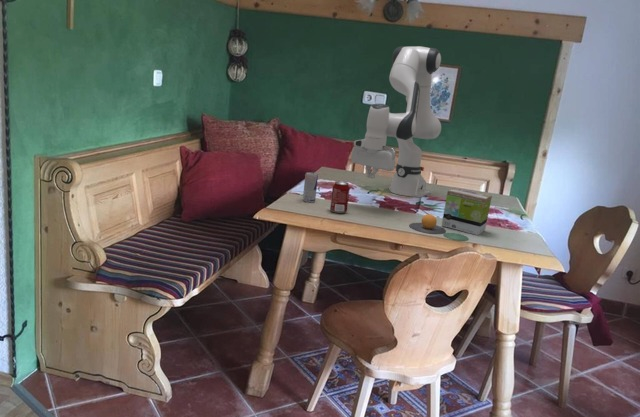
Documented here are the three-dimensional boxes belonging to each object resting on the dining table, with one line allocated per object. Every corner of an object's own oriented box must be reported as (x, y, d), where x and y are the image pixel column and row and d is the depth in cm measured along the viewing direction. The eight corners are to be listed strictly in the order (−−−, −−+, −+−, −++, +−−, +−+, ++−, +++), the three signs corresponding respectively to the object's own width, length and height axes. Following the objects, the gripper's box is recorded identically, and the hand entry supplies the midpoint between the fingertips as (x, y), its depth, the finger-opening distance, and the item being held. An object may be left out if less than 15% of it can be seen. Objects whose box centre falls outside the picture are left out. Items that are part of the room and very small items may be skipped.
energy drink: (316, 201, 224) (319, 173, 221) (312, 203, 219) (315, 175, 216) (305, 198, 226) (308, 171, 223) (300, 201, 221) (303, 173, 218)
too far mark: (450, 231, 198) (450, 231, 198) (472, 238, 192) (472, 237, 192) (439, 235, 191) (439, 235, 191) (461, 242, 186) (461, 241, 186)
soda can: (345, 215, 206) (348, 185, 203) (328, 212, 207) (331, 183, 204) (347, 211, 212) (351, 182, 209) (331, 208, 213) (334, 180, 210)
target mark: (421, 221, 209) (421, 220, 209) (452, 230, 200) (452, 230, 200) (402, 226, 198) (402, 225, 198) (434, 236, 190) (434, 235, 190)
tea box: (440, 226, 204) (446, 190, 201) (448, 222, 213) (454, 187, 209) (478, 236, 197) (485, 198, 193) (485, 231, 205) (492, 194, 202)
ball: (432, 231, 201) (423, 221, 203) (441, 221, 198) (432, 210, 200) (425, 232, 196) (416, 222, 199) (435, 222, 194) (425, 211, 196)
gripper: (400, 148, 208) (395, 182, 211) (360, 140, 221) (356, 172, 224) (391, 148, 203) (386, 183, 207) (350, 140, 216) (346, 173, 219)
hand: (370, 177), depth 215 cm, fingers closed
